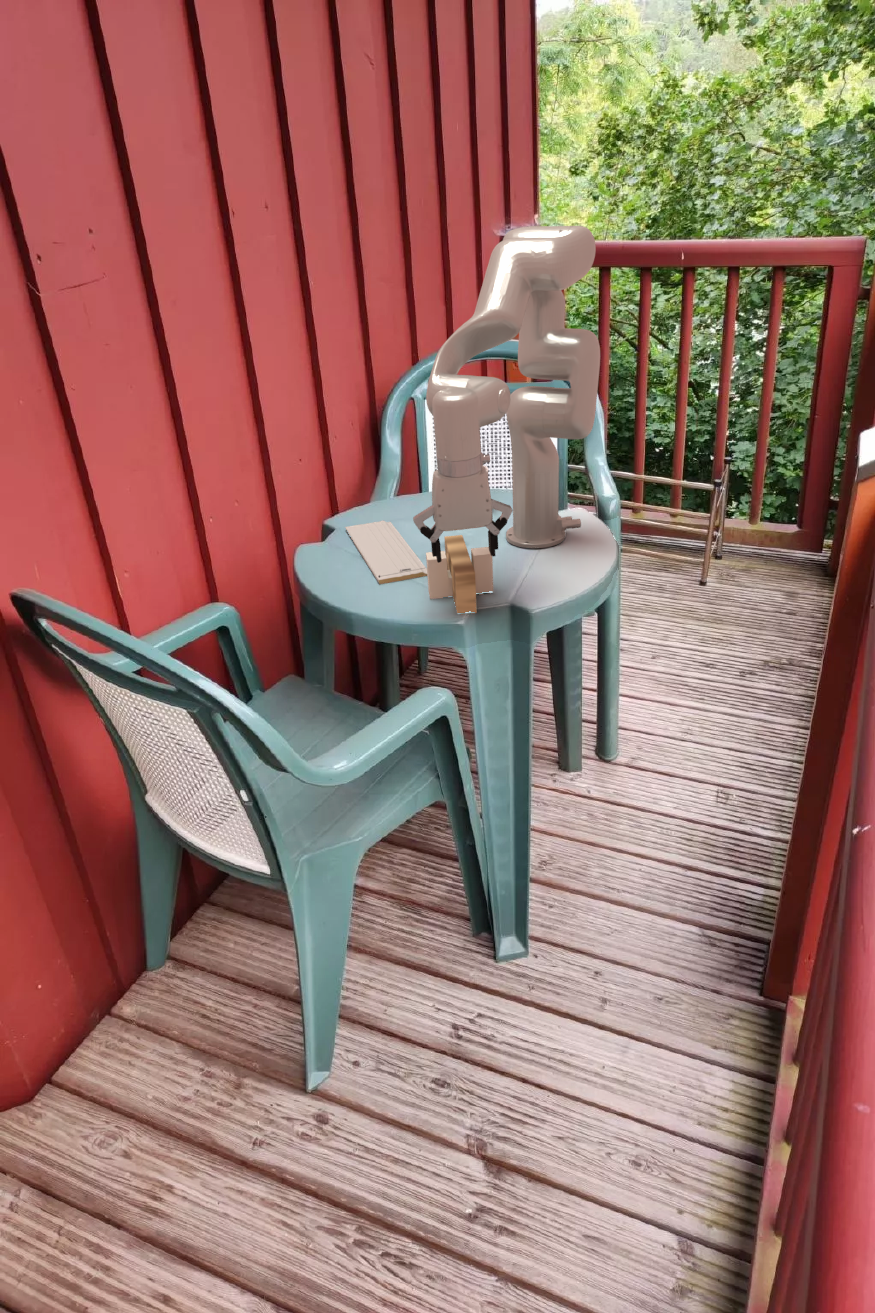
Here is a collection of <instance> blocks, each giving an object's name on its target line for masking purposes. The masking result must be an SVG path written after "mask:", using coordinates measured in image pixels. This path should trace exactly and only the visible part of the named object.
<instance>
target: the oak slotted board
mask: <svg viewBox="0 0 875 1313" xmlns="http://www.w3.org/2000/svg"><path fill="white" fill-rule="evenodd" d="M444 551H445V555H446V558H447V570H450V572H451V576H452V584H453V597H452V598H453V599H454V600H453V603H454V602H455V604H454V607H455V606H456V607H455V610H457V611H456V614H457V613H465V612H469V611H471V612H475V613H474V614H477V609H478V608H477V595H476V583H475V571H474V568H473V565H472V561H471V555H470V554H469V551H468V547H467V545H466V541H465V539H464V536H463V535H462V534H459V535H458V534H457V535H446V536H444Z"/></svg>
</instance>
